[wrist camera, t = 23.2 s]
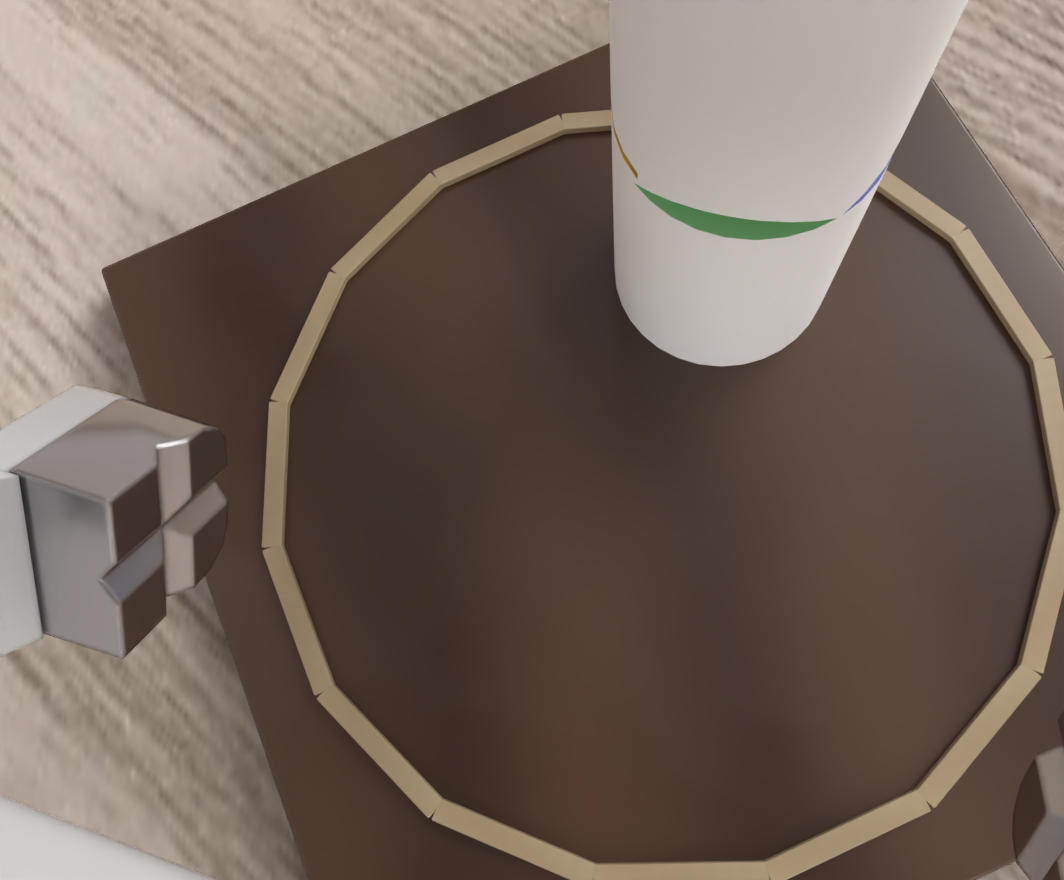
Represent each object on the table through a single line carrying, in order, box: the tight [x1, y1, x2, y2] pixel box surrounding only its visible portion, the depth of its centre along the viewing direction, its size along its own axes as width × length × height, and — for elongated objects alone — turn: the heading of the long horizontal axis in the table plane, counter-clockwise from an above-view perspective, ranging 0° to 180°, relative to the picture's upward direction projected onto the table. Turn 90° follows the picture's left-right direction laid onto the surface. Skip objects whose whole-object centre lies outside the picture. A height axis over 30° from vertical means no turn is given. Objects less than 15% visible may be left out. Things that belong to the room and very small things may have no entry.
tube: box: [609, 0, 968, 367], centre depth 12 cm, size 4×4×15 cm
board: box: [102, 43, 1064, 880], centre depth 19 cm, size 18×18×1 cm
